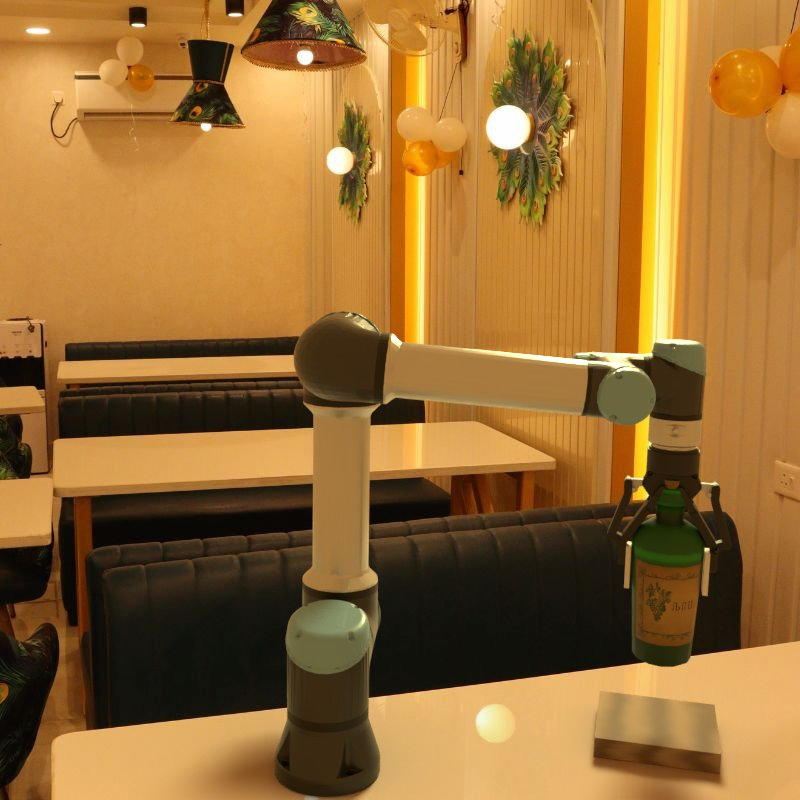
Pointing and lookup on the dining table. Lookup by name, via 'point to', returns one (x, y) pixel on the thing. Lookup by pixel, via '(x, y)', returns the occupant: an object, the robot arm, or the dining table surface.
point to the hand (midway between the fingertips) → (665, 589)
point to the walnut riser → (657, 732)
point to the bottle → (665, 582)
